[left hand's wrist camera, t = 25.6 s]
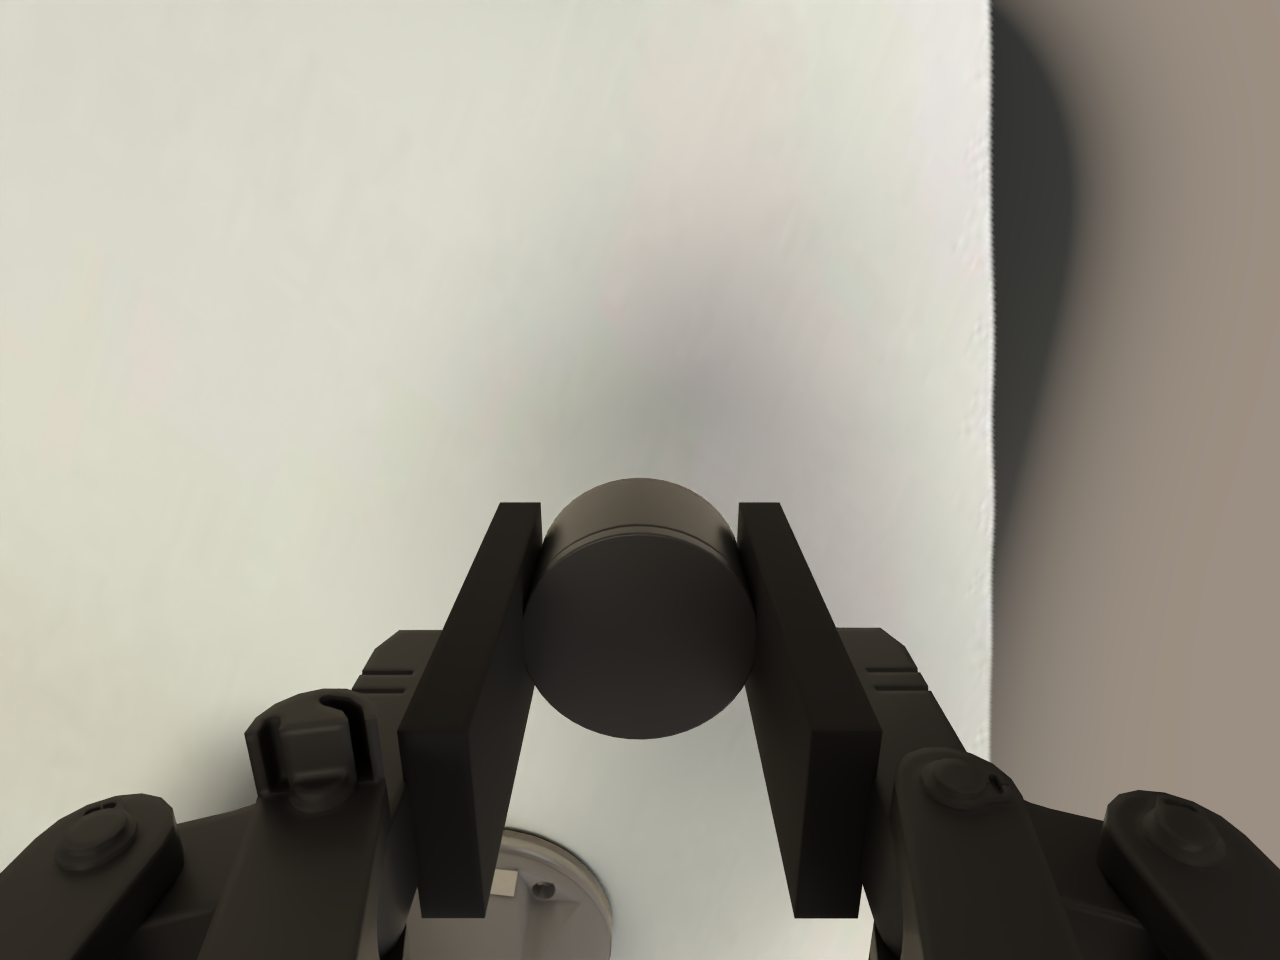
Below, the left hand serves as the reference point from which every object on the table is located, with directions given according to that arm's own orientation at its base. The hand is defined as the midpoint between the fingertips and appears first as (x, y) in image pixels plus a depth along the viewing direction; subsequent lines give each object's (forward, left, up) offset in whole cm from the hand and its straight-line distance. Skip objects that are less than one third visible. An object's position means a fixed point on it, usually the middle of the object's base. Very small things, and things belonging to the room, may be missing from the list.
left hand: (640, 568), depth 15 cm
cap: (0, 0, +2) cm, 2 cm away
